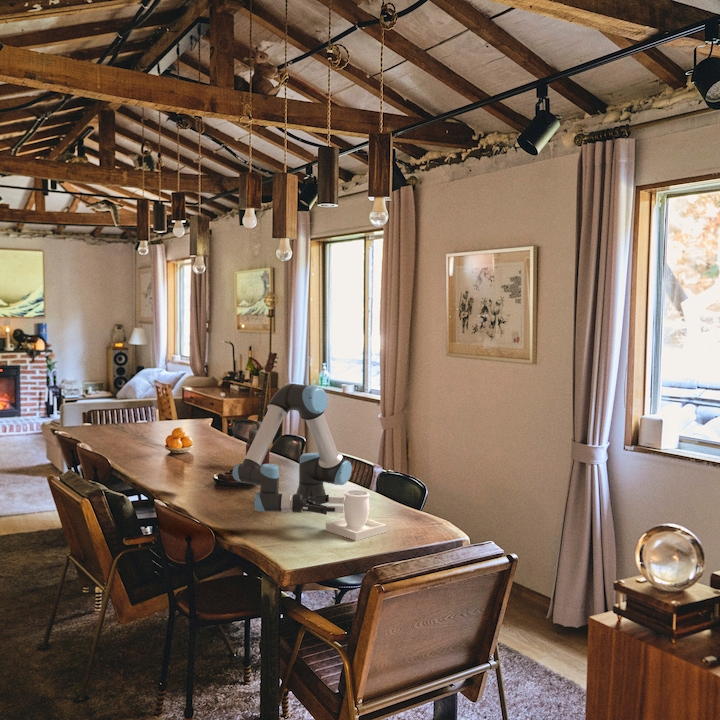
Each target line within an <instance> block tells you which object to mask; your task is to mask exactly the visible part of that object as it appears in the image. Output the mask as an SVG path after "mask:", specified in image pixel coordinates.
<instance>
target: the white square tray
mask: <svg viewBox="0 0 720 720" xmlns="http://www.w3.org/2000/svg"><path fill="white" fill-rule="evenodd" d="M346 525H347V523H346V520H345V517H343V518H339V519H335V520H331V521H327V522H325V531H326V532H330V533H332V534H335V535H337V534H338V535H337V536H340V535H341V537H343V536H344V538H346V537H347V538H346V539H348V538H350V539H349V540H351V539H352V540H351V541H354V540H355V541H354V542H357V540H358V541H361V540H360V539H362V540H365V539H368V538H367V537H369V538H371V537H370V536H372V537H375V536H374V535H376V536H378V535H377V534H379V535H382V534H381V533H383V534H385V533H384V532H386V533H387V532H388V524H385V523H383V522H379V521H377V520H374V519H371V518H368V519H367V522H366V524H365V526H366V529H364V530H360V531H353V530H350V529H347V528H346ZM364 538H365V539H364Z"/></svg>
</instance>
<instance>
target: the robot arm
mask: <svg viewBox="0 0 720 720" xmlns="http://www.w3.org/2000/svg"><path fill="white" fill-rule="evenodd" d="M327 406H328V397H327V394H326V391H325V390H324V389H323V388H322V387H321V386H320V387H319V386H316V385H313V384H312V385H311V384H296V383H289V384H285V385H283V386H282V387H281V388H279V389H278V390H277V391H276V392H275V393H274V395H273V396H272V397H271V399H270V400H269V402H268V404H267V406H266V408H267V412H266V414H265V416H264V418H263V419H262V421H261V422H262V424H261V426H260V428H259V430H258V432H257V434H256V436H255V438H254V440H253V442H252V444H251V446H250V449H249V451H248V453H247V455H246V454H245V457H244V459H243V461H242V462H241V463H237V464H236V465H235V466H234V467H233V470H232V477H233V479H234V480H235V481H236V482H240V483H244V484H249V485H255V486H259V490H260V491H259V492H256V494H255V495H254V496H255V497H254V509H255V511H257V512H265V513H268V512H271V513H272V512H273V513H284V514H287V513H291V512H292V513H300V514H301V513H302V511H303V512H309V513H315V514H320V515H321V514H323V515H325V516H326V515H327V513H333V514H334V513H336V514H344V501H345V496H329V495H330V494H326V490H325V487H324V483H326V484H332V485H335V486H337V485H338V486H344V485H345V484H347V483H348V482H349V480H350V478H351V475H352V469H353V467H352V463H351V462H350V461H349V460H348V459H347V460H345V458H344V456H343V454H342V453H341V452H340V451H338V449H337V446H336V444H335V441H334V438H333V435H332V433H331V430H330V428H329V425H328V422H327V419H326V417H325V412H326V408H327ZM290 411H297V412H298V414H299V417H300V419H301V420H303V421H305V422H306V425H307V428H308V431H309V434H310V436H311V438H312V441H313V443H314V446H315V449H316V452H315V451H314V452H306V453H303V454H301V455H300V456H299V467H298V470H299V472H298V473H299V474H298V477H299V478H298V487H297V490H296V493H294V494H293V493H279V488H280V487H279V486H280V483H279V482H280V481H279V480H280V472H279V471H280V470H279V465H277V464H275V463H269V464H263V465H262V466H261V464H262V462H263V460H264V457H265V455H266V453H267V451H268V449H269V447H271V445H272V443H273V441H274V439H275V437H276V434H277V432H278V429H279V428H280V425H281V424H282V421H283V419H284V418H286V417H287V416H288V415H289V412H290ZM260 466H261V467H260ZM327 503H328V505H323V504H327ZM329 504H333V505H329ZM334 504H337V505H334ZM338 504H341V505H338Z"/></svg>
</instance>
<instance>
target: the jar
mask: <svg viewBox="0 0 720 720" xmlns="http://www.w3.org/2000/svg"><path fill="white" fill-rule="evenodd" d="M343 494H344V504H343V514H344V518H345V520H346V523H347V525H346V528H347V529H350V530H353V531H360V530H364V529H366V526H365V524H366V522H367V519H369V513H370V499H369V497H370V495H371V493H370V492H368V491H366V490H358V489H352V490H346V491H345V492H344V493H343Z"/></svg>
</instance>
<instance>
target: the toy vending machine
mask: <svg viewBox="0 0 720 720" xmlns="http://www.w3.org/2000/svg"><path fill="white" fill-rule="evenodd" d="M262 422H263V421H257V422H256V425H255V427H256V428H250V429H249V430H248V440H246V444H245V456H246V455H247V453H248V451H249V449H250V446H251V444H252V442H253V440H254V438H255V436H256V434H257V432H258V430H259V428H260V426H261V424H262ZM270 447H271V446H270ZM270 447H269V449H268V451H267V453H266V455H265V457H264V460H263V462H262V464H261V466H262V465H263V464H270V449H271V448H270ZM261 466H260V467H261Z"/></svg>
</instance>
